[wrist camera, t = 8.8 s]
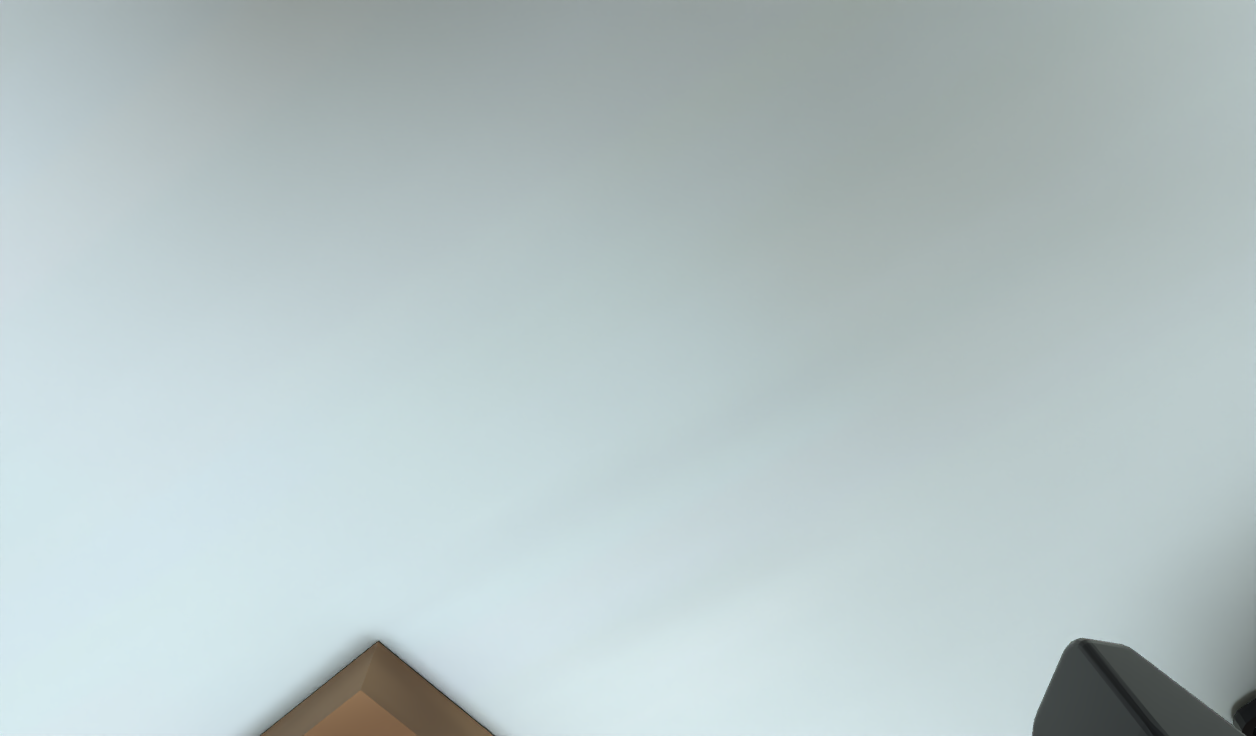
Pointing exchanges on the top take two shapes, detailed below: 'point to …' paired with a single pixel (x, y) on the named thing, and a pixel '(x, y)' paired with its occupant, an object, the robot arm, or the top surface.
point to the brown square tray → (377, 704)
